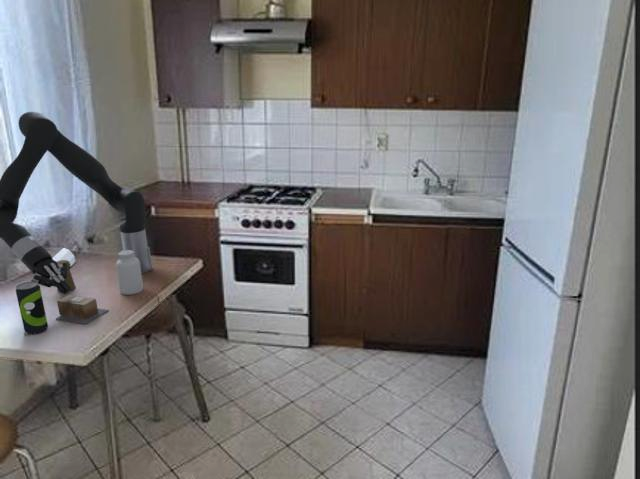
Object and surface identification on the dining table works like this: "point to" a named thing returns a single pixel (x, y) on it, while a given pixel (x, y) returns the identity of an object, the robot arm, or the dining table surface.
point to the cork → (68, 275)
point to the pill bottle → (129, 273)
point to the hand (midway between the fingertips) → (67, 292)
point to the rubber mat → (80, 320)
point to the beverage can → (31, 307)
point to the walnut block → (77, 306)
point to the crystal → (65, 256)
